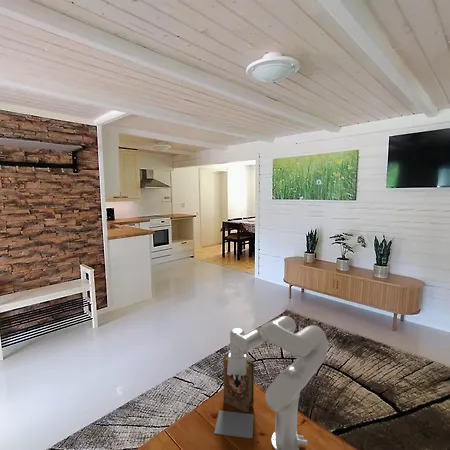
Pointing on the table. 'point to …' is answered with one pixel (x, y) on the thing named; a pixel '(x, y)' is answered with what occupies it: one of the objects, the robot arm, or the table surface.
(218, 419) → the mat
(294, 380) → the robot arm
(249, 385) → the book
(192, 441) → the table surface
